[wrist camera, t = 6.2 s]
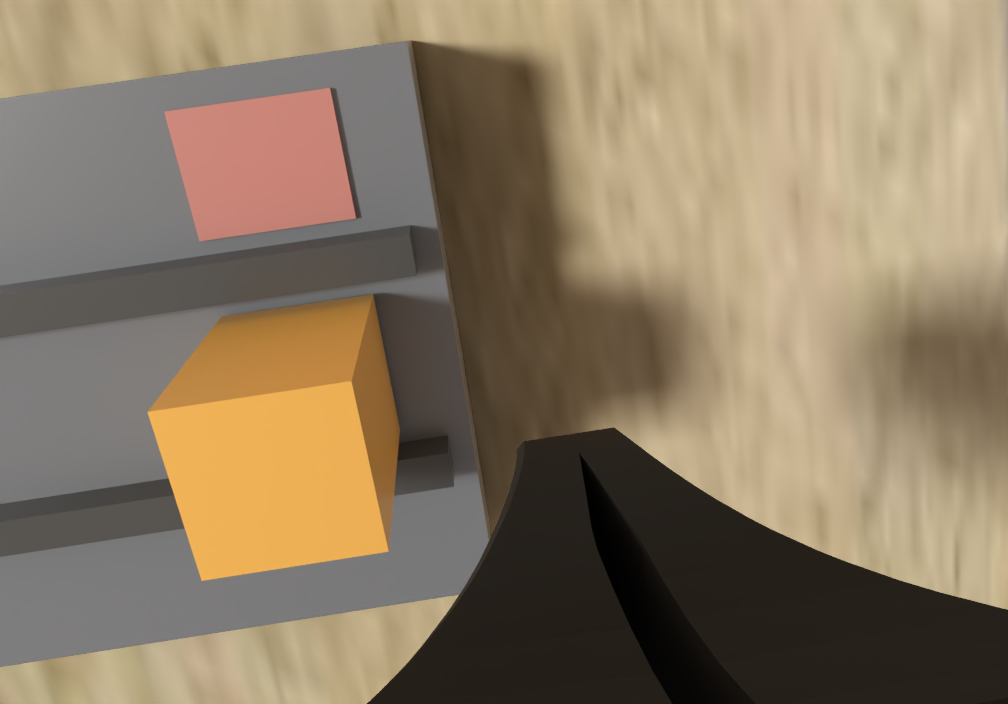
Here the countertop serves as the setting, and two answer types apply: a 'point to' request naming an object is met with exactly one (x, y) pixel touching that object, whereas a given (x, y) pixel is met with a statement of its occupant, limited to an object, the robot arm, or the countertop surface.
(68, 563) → the switch panel
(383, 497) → the knob
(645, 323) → the countertop surface
